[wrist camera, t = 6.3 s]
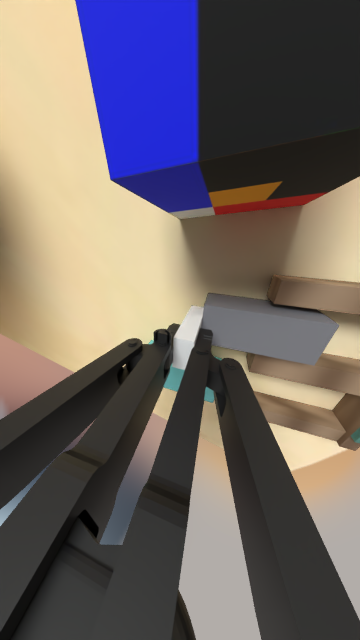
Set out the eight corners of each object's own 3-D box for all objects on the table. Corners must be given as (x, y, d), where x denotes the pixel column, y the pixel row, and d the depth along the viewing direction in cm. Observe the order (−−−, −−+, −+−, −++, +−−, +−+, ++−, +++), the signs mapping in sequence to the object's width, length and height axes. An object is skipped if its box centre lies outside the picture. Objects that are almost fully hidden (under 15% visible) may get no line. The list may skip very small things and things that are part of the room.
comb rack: (233, 396, 22) (235, 421, 19) (273, 274, 14) (287, 283, 11) (337, 423, 19) (359, 457, 16) (459, 291, 11) (547, 309, 8)
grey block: (203, 324, 18) (198, 342, 15) (208, 292, 17) (204, 304, 13) (295, 340, 16) (314, 365, 13) (312, 306, 15) (339, 324, 11)
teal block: (151, 359, 24) (138, 379, 20) (152, 339, 22) (138, 356, 18) (214, 378, 22) (212, 402, 18) (221, 357, 20) (220, 380, 17)
